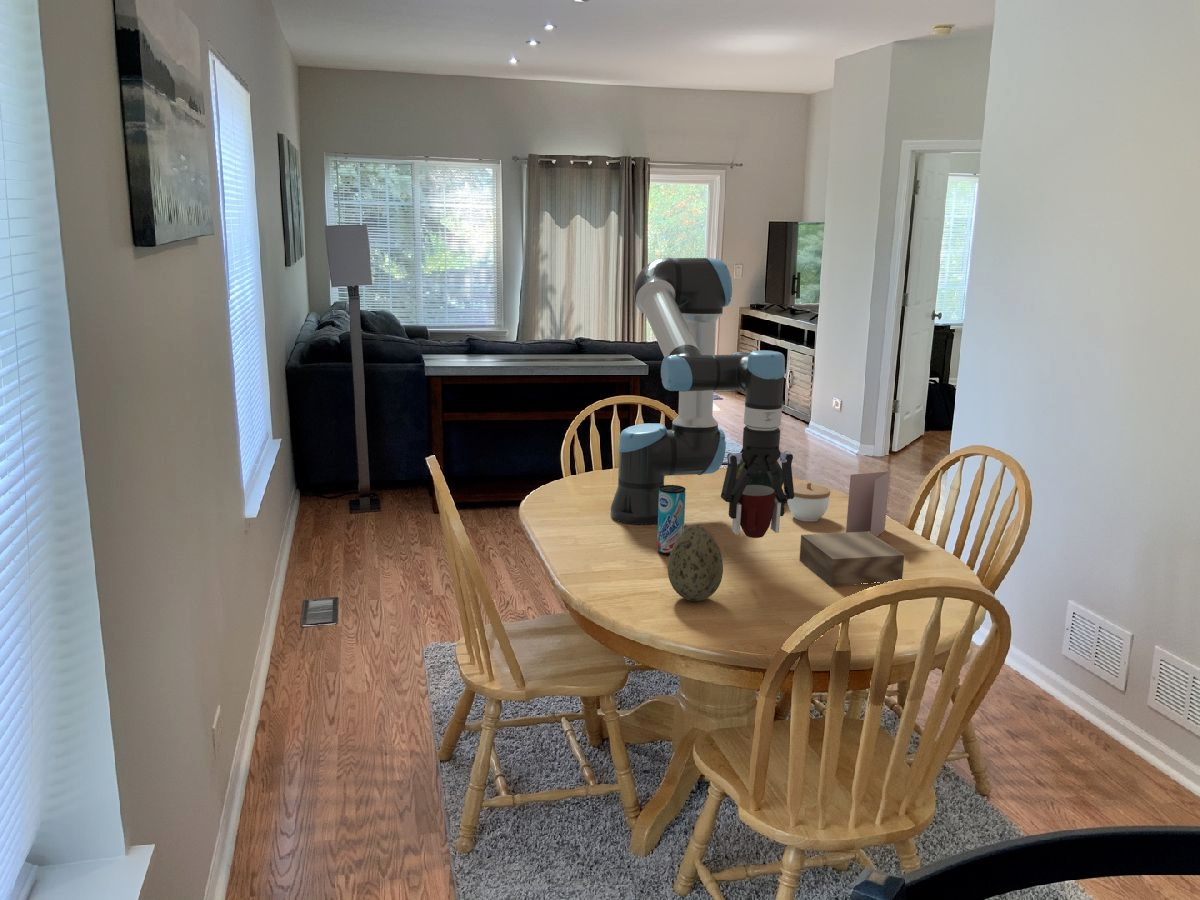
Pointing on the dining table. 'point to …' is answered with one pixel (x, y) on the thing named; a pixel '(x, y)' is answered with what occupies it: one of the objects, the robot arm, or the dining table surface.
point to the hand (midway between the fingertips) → (755, 531)
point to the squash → (759, 476)
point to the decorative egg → (695, 564)
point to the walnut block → (851, 558)
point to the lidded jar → (809, 502)
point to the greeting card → (867, 502)
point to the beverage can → (670, 517)
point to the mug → (756, 510)
